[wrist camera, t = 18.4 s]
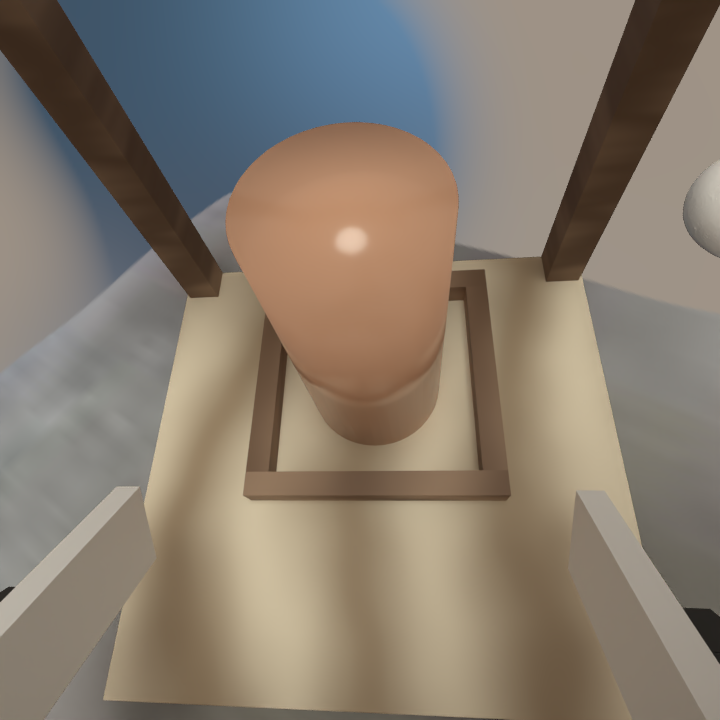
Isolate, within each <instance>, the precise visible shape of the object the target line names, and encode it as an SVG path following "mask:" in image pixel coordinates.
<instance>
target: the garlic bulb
mask: <svg viewBox="0 0 720 720" xmlns="http://www.w3.org/2000/svg"><path fill="white" fill-rule="evenodd" d="M683 219H684V223H685V226H686V228H687V231H688V232H689V234H690V236H691V237H692V238H693V239H694V240H695V241H696V243H697V244H698V245H700V246H701V247H702V248H703V249H705V250H707V251H708V252H710V253H711V254H713V255H715V256H717V257H719V258H720V160H718V161H716V162H715V163H713V164H712V165H710V166H709V167H708V168H707V169H706V170H704V171H703V172H702V173H701V174H700V176H699V177H698V178H697V179H696V180H695V182H694V183H693V185H692V186H691V188H690V190H689V192H688V193H687V196H686V199H685V202H684V207H683Z"/></svg>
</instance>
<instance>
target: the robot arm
mask: <svg viewBox="0 0 720 720" xmlns="http://www.w3.org/2000/svg"><path fill="white" fill-rule="evenodd" d="M155 560H156V554H155V550H154V546H153V541H152V537H151V533H150V528H149V524H148V520H147V516H146V511H145V507H144V503H143V499H142V494H141V490H140V487H116V488H115V489H114V490H113V491H112V492H111V493H110V494H109V495H108V496H107V497H106V498H105V499H104V500H103V501H102V502H101V503H100V504H99V505H98V506H97V507H96V508H95V509H94V510H93V511H92V512H91V513H90V514H89V515H88V516H87V517H86V518H85V519H84V520H83V521H82V522H81V523H80V524H79V525H78V526H77V527H76V528H75V529H74V530H73V531H72V532H71V533H70V534H69V535H68V536H67V537H65V538H64V539H63V540H62V541H61V542H60V543H59V544H58V545H57V546H56V547H55V548H54V549H53V550H52V551H51V552H50V553H49V554H48V555H47V556H46V557H45V558H44V559H43V560H42V561H41V562H40V563H39V564H38V565H37V566H36V567H35V568H34V569H33V570H32V571H31V572H30V573H29V574H28V575H27V576H26V577H25V578H24V579H23V580H22V581H21V582H20V583H19V584H18V585H17V586H16V587H8V588H6V589H5V590H3V591H2V592H0V720H44V719H45V717H46V716H47V714H48V713H49V712H50V710H51V709H52V707H53V706H54V704H55V703H56V702H57V700H58V699H59V697H60V696H61V694H62V693H63V692H64V690H65V689H66V687H67V686H68V684H69V683H70V681H71V680H72V679H73V677H74V676H75V674H76V673H77V671H78V670H79V669H80V667H81V666H82V664H83V663H84V661H85V660H86V659H87V657H88V656H89V654H90V653H91V651H92V650H93V649H94V647H95V646H96V644H97V643H98V641H99V640H100V638H101V637H102V636H103V634H104V633H105V631H106V630H107V628H108V627H109V626H110V624H111V623H112V621H113V620H114V618H115V617H116V616H117V614H118V613H119V611H120V610H121V608H122V607H123V606H124V604H125V603H126V601H127V600H128V598H129V597H130V596H131V594H132V593H133V591H134V590H135V588H136V587H137V585H138V584H139V583H140V581H141V580H142V578H143V577H144V575H145V574H146V573H147V571H148V570H149V568H150V567H151V565H152V564H153V563H154V561H155ZM568 570H569V572H570V575H571V577H572V579H573V582H574V584H575V586H576V589H577V591H578V593H579V596H580V598H581V600H582V603H583V605H584V607H585V610H586V612H587V614H588V617H589V619H590V621H591V624H592V626H593V629H594V631H595V633H596V636H597V638H598V640H599V643H600V645H601V647H602V650H603V652H604V654H605V657H606V659H607V661H608V664H609V666H610V668H611V671H612V673H613V675H614V678H615V680H616V682H617V685H618V687H619V690H620V692H621V694H622V697H623V699H624V701H625V704H626V706H627V708H628V711H629V713H630V715H631V718H632V720H720V617H719V616H718V615H717V614H716V613H714V612H713V611H712V610H711V609H698V608H682V607H681V605H680V604H679V602H678V601H677V599H676V598H675V596H674V595H673V593H672V592H671V590H670V589H669V587H668V586H667V584H666V583H665V581H664V580H663V578H662V577H661V575H660V574H659V572H658V571H657V569H656V568H655V566H654V564H653V563H652V561H651V560H650V558H649V557H648V555H647V554H646V552H645V551H644V549H643V548H642V546H641V545H640V543H639V542H638V540H637V539H636V537H635V536H634V534H633V533H632V531H631V530H630V528H629V527H628V525H627V524H626V522H625V521H624V519H623V518H622V516H621V515H620V513H619V512H618V510H617V509H616V507H615V506H614V504H613V503H612V501H611V500H610V498H609V497H608V495H607V494H606V492H605V491H596V490H576V496H575V506H574V516H573V525H572V535H571V545H570V555H569V564H568Z"/></svg>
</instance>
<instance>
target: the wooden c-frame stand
mask: <svg viewBox="0 0 720 720" xmlns="http://www.w3.org/2000/svg"><path fill="white" fill-rule="evenodd" d="M719 5H720V0H635V3H634V5H633V8H632V11H631V14H630V16H629V19H628V22H627V24H626V27H625V30H624V33H623V36H622V38H621V41H620V43H619V46H618V49H617V52H616V55H615V57H614V60H613V63H612V66H611V68H610V71H609V74H608V76H607V79H606V82H605V84H604V87H603V90H602V93H601V95H600V98H599V101H598V104H597V107H596V109H595V112H594V114H593V117H592V120H591V123H590V126H589V128H588V131H587V134H586V136H585V139H584V142H583V144H582V147H581V150H580V153H579V155H578V158H577V161H576V164H575V166H574V169H573V172H572V174H571V177H570V180H569V183H568V185H567V188H566V191H565V193H564V196H563V199H562V202H561V205H560V207H559V210H558V213H557V215H556V218H555V221H554V224H553V226H552V229H551V232H550V234H549V237H548V240H547V243H546V245H545V248H544V251H543V254H542V256H541V257H527V258H506V259H487V260H467V261H453V263H452V273H451V282H450V291H449V301H448V310H447V319H446V329H445V338H444V347H443V357H442V366H441V375H440V384H439V393H438V399H437V402H436V405H435V408H434V410H433V412H432V414H431V415H430V417H429V418H428V420H427V421H426V422H425V423H424V424H423V426H422V427H421V428H419V429H418V430H417V431H416V432H415V433H413V434H412V435H410V436H409V437H407V438H405V439H403V440H401V441H398V442H395V443H391V444H386V445H377V446H374V445H363V444H358V443H355V442H352V441H350V440H347V439H345V438H343V437H342V436H340V435H339V434H337V433H336V432H335V431H333V430H332V429H331V428H330V427H329V426H328V424H327V423H326V422H325V421H324V419H323V418H322V416H321V414H320V413H319V411H318V409H317V407H316V405H315V403H314V402H313V400H312V398H311V396H310V394H309V392H308V391H307V389H306V387H305V385H304V383H303V381H302V380H301V378H300V376H299V374H298V372H297V370H296V369H295V367H294V365H293V363H292V361H291V359H290V358H289V356H288V354H287V352H286V350H285V348H284V346H283V345H282V343H281V341H280V339H279V337H278V335H277V334H276V332H275V330H274V328H273V326H272V324H271V323H270V321H269V319H268V317H267V315H266V313H265V312H264V310H263V308H262V306H261V304H260V302H259V301H258V299H257V297H256V295H255V293H254V291H253V290H252V288H251V286H250V284H249V282H248V280H247V279H246V277H245V275H244V273H243V272H232V273H222V271H221V269H220V268H219V266H218V264H217V263H216V261H215V259H214V258H213V256H212V254H211V253H210V251H209V250H208V248H207V246H206V245H205V243H204V241H203V240H202V238H201V236H200V235H199V233H198V231H197V230H196V228H195V226H194V225H193V223H192V222H191V220H190V218H189V217H188V215H187V213H186V212H185V210H184V208H183V207H182V205H181V203H180V202H179V200H178V199H177V197H176V195H175V194H174V192H173V190H172V189H171V187H170V185H169V184H168V182H167V180H166V179H165V177H164V176H163V174H162V172H161V170H160V169H159V167H158V166H157V164H156V162H155V161H154V159H153V157H152V156H151V154H150V152H149V151H148V149H147V147H146V146H145V144H144V143H143V141H142V139H141V138H140V136H139V134H138V133H137V131H136V129H135V128H134V126H133V125H132V123H131V121H130V119H129V118H128V116H127V115H126V113H125V111H124V110H123V108H122V106H121V105H120V103H119V102H118V100H117V98H116V96H115V95H114V93H113V91H112V90H111V88H110V87H109V85H108V83H107V82H106V80H105V79H104V77H103V75H102V74H101V72H100V70H99V69H98V67H97V65H96V64H95V62H94V60H93V59H92V57H91V55H90V54H89V52H88V50H87V49H86V47H85V46H84V44H83V42H82V40H81V39H80V37H79V36H78V34H77V32H76V31H75V29H74V27H73V26H72V24H71V22H70V21H69V19H68V17H67V16H66V14H65V13H64V11H63V9H62V8H61V6H60V4H59V3H58V1H57V0H0V50H1V52H2V53H3V54H4V55H5V57H6V58H7V59H8V61H9V62H10V63H11V65H12V66H13V67H14V68H15V70H16V71H17V72H18V74H19V75H20V76H21V77H22V79H23V80H24V81H25V83H26V84H27V85H28V87H29V88H30V89H31V91H32V92H33V93H34V94H35V96H36V97H37V98H38V100H39V101H40V102H41V104H42V105H43V106H44V108H45V109H46V110H47V111H48V113H49V114H50V115H51V116H52V118H53V119H54V121H55V122H56V123H57V124H58V126H59V127H60V128H61V130H62V131H63V132H64V134H65V135H66V136H67V137H68V139H69V140H70V141H71V143H72V144H73V145H74V147H75V148H76V149H77V150H78V152H79V153H80V154H81V156H82V157H83V158H84V160H85V161H86V162H87V164H88V165H89V166H90V167H91V169H92V170H93V171H94V173H95V174H96V175H97V177H98V178H99V179H100V181H101V182H102V183H103V184H104V186H105V187H106V188H107V190H108V191H109V192H110V194H111V195H112V196H113V197H114V199H115V200H116V201H117V203H118V204H119V205H120V207H121V208H122V209H123V210H124V212H125V213H126V214H127V216H128V217H129V218H130V220H131V221H132V222H133V224H134V225H135V226H136V227H137V229H138V230H139V231H140V233H141V234H142V235H143V236H144V238H145V239H146V240H147V242H148V243H149V244H150V246H151V247H152V248H153V250H154V251H155V252H156V253H157V255H158V256H159V257H160V259H161V260H162V261H163V263H164V264H165V265H166V267H167V268H168V269H169V270H170V272H171V273H172V274H173V276H174V277H175V278H176V280H177V281H178V282H179V283H180V285H181V286H182V287H183V289H184V290H185V291H186V293H187V294H188V297H187V302H186V307H185V312H184V316H183V321H182V326H181V331H180V335H179V340H178V345H177V350H176V354H175V359H174V364H173V369H172V373H171V378H170V383H169V388H168V392H167V397H166V402H165V407H164V412H163V416H162V421H161V426H160V431H159V435H158V440H157V445H156V450H155V454H154V459H153V464H152V469H151V473H150V478H149V483H148V488H147V492H146V497H145V502H144V507H145V511H146V516H147V520H148V524H149V528H150V533H151V537H152V541H153V546H154V550H155V554H156V560H155V561H154V563H153V564H152V565H151V567H150V568H149V570H148V571H147V573H146V574H145V575H144V577H143V578H142V580H141V581H140V583H139V584H138V585H137V587H136V588H135V590H134V591H133V593H132V594H131V596H130V597H129V598H128V600H127V601H126V603H125V604H124V606H123V607H122V612H121V616H120V621H119V626H118V631H117V635H116V640H115V645H114V650H113V654H112V659H111V664H110V669H109V673H108V678H107V683H106V688H105V693H104V697H103V700H111V701H132V702H153V703H174V704H195V705H216V706H237V707H258V708H279V709H300V710H321V711H342V712H363V713H384V714H405V715H426V716H447V717H468V718H489V719H510V720H632V718H631V715H630V713H629V711H628V708H627V706H626V704H625V701H624V699H623V697H622V694H621V692H620V690H619V687H618V685H617V682H616V680H615V678H614V675H613V673H612V671H611V668H610V666H609V664H608V661H607V659H606V657H605V654H604V652H603V650H602V647H601V645H600V643H599V640H598V638H597V636H596V633H595V631H594V629H593V626H592V624H591V621H590V619H589V617H588V614H587V612H586V610H585V607H584V605H583V603H582V600H581V598H580V596H579V593H578V591H577V589H576V586H575V584H574V582H573V579H572V577H571V575H570V572H569V570H568V564H569V555H570V545H571V535H572V525H573V516H574V506H575V496H576V490H596V491H605V492H606V494H607V495H608V497H609V498H610V500H611V501H612V503H613V504H614V506H615V507H616V509H617V510H618V512H619V513H620V515H621V516H622V518H623V519H624V521H625V522H626V524H627V525H628V527H629V528H630V530H631V531H632V533H633V534H634V536H635V537H636V539H637V540H638V542H639V543H640V545H641V546H642V544H641V539H640V535H639V531H638V526H637V522H636V517H635V513H634V508H633V504H632V499H631V495H630V490H629V486H628V481H627V477H626V472H625V468H624V463H623V459H622V454H621V450H620V445H619V441H618V437H617V432H616V428H615V423H614V419H613V414H612V410H611V405H610V401H609V396H608V392H607V387H606V383H605V378H604V374H603V369H602V365H601V360H600V356H599V351H598V347H597V342H596V338H595V334H594V329H593V325H592V320H591V316H590V311H589V307H588V302H587V298H586V293H585V289H584V284H583V280H582V275H581V274H582V273H583V271H584V269H585V267H586V265H587V263H588V261H589V259H590V257H591V255H592V253H593V251H594V249H595V247H596V245H597V243H598V241H599V239H600V237H601V235H602V234H603V232H604V229H605V228H606V226H607V224H608V222H609V220H610V218H611V216H612V214H613V212H614V210H615V208H616V206H617V204H618V202H619V200H620V198H621V196H622V195H623V193H624V191H625V189H626V187H627V185H628V183H629V181H630V179H631V177H632V175H633V173H634V171H635V169H636V167H637V165H638V163H639V161H640V159H641V157H642V155H643V153H644V152H645V150H646V147H647V146H648V144H649V142H650V140H651V138H652V136H653V134H654V132H655V130H656V128H657V126H658V124H659V122H660V120H661V118H662V117H663V114H664V113H665V111H666V109H667V107H668V105H669V103H670V101H671V99H672V97H673V95H674V93H675V91H676V89H677V87H678V85H679V83H680V81H681V79H682V78H683V76H684V74H685V72H686V70H687V68H688V66H689V64H690V62H691V60H692V58H693V56H694V54H695V52H696V50H697V48H698V46H699V44H700V42H701V40H702V39H703V37H704V35H705V33H706V31H707V29H708V27H709V25H710V23H711V21H712V19H713V17H714V15H715V13H716V11H717V9H718V7H719Z"/></svg>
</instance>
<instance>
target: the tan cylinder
mask: <svg viewBox="0 0 720 720" xmlns="http://www.w3.org/2000/svg"><path fill="white" fill-rule="evenodd" d="M458 202H459V201H458V190H457V185H456V181H455V179H454V176H453V174H452V171H451V170H450V168H449V166H448V165H447V163H446V162H445V160H444V159H443V158H442V157H441V155H440V154H439V153H438V152H437V151H436V150H435V149H433V148H432V147H431V146H430V145H428V144H427V143H426V142H424V141H423V140H421V139H420V138H418V137H416V136H414V135H412V134H410V133H408V132H405V131H403V130H400V129H397V128H394V127H390V126H386V125H381V124H374V123H362V122H352V123H351V122H350V123H338V124H331V125H326V126H321V127H316V128H313V129H310V130H307V131H303V132H301V133H299V134H296V135H294V136H291V137H289V138H287V139H286V140H284V141H282V142H280V143H278V144H277V145H275V146H273V147H272V148H270V149H269V150H267V151H266V152H265V153H264V154H262V155H261V156H260V157H259V158H258V159H257V160H256V161H255V162H254V163H253V164H252V165H251V166H250V167H249V168H248V169H247V170H246V171H245V173H244V174H243V175H242V177H241V178H240V179H239V181H238V183H237V184H236V186H235V188H234V190H233V192H232V195H231V197H230V200H229V203H228V207H227V212H226V234H227V238H228V242H229V245H230V248H231V250H232V252H233V254H234V256H235V258H236V260H237V262H238V264H239V266H240V267H241V269H242V271H243V273H244V275H245V277H246V279H247V280H248V282H249V284H250V286H251V288H252V290H253V291H254V293H255V295H256V297H257V299H258V301H259V302H260V304H261V306H262V308H263V310H264V312H265V313H266V315H267V317H268V319H269V321H270V323H271V324H272V326H273V328H274V330H275V332H276V334H277V335H278V337H279V339H280V341H281V343H282V345H283V346H284V348H285V350H286V352H287V354H288V356H289V358H290V359H291V361H292V363H293V365H294V367H295V369H296V370H297V372H298V374H299V376H300V378H301V380H302V381H303V383H304V385H305V387H306V389H307V391H308V392H309V394H310V396H311V398H312V400H313V402H314V403H315V405H316V407H317V409H318V411H319V413H320V414H321V416H322V418H323V419H324V421H325V422H326V423H327V424H328V426H329V427H330V428H331V429H332V430H333V431H335V432H336V433H337V434H339V435H340V436H342V437H343V438H345V439H347V440H350V441H352V442H355V443H358V444H363V445H374V446H377V445H386V444H391V443H395V442H398V441H401V440H403V439H405V438H407V437H409V436H410V435H412V434H413V433H415V432H416V431H417V430H418V429H419V428H421V427H422V426H423V424H424V423H425V422H426V421H427V420H428V418H429V417H430V415H431V414H432V412H433V410H434V408H435V405H436V402H437V399H438V393H439V384H440V375H441V366H442V357H443V347H444V338H445V329H446V319H447V310H448V301H449V291H450V282H451V273H452V263H453V254H454V245H455V235H456V226H457V216H458V208H459V206H458V204H459V203H458Z"/></svg>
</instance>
